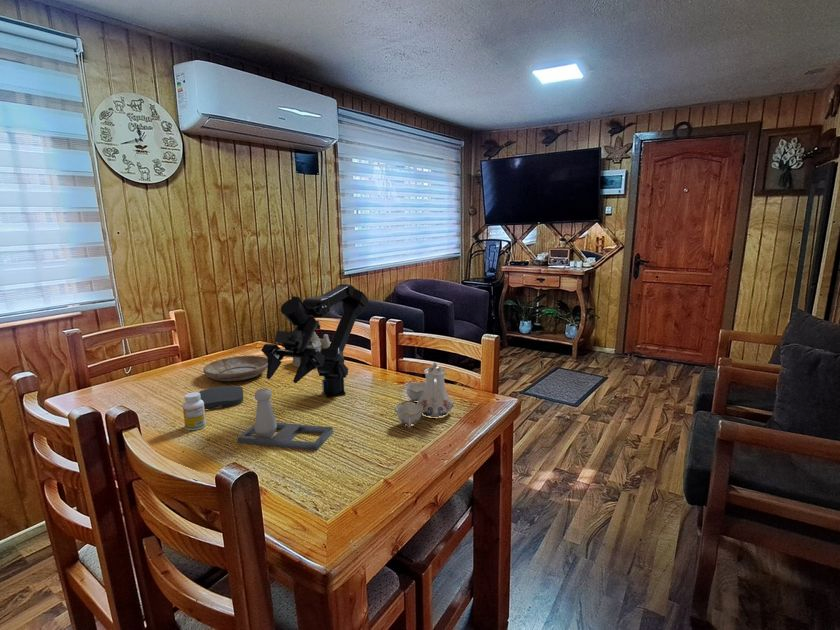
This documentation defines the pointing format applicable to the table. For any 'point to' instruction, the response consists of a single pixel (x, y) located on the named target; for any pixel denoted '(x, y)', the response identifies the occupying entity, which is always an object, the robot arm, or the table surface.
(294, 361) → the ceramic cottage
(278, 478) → the table surface
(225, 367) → the ceramic bowl
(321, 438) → the hole plate
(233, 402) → the media streaming box
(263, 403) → the salt shaker
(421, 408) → the chinaware
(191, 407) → the supplement bottle
